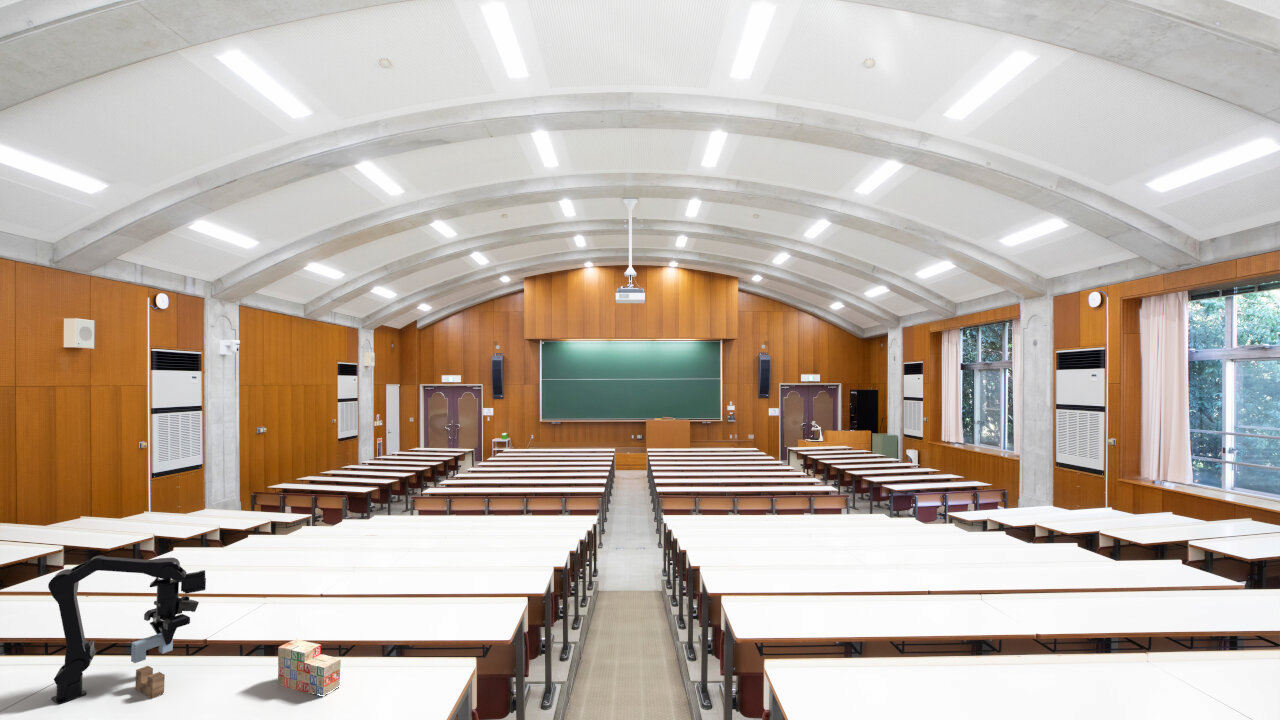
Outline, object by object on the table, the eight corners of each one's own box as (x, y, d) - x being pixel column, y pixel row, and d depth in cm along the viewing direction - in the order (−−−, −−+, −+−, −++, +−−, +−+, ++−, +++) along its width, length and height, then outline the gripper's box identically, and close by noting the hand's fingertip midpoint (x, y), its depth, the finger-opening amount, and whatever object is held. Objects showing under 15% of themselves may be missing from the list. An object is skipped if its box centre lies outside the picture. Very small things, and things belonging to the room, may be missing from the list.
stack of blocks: (340, 688, 177) (341, 649, 178) (322, 698, 171) (323, 658, 172) (295, 675, 185) (296, 638, 186) (277, 684, 180) (278, 646, 180)
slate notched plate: (135, 663, 178) (135, 644, 178) (131, 661, 180) (131, 642, 180) (172, 650, 187) (173, 632, 187) (168, 648, 188) (169, 630, 189)
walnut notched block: (135, 688, 177) (136, 669, 177) (147, 684, 180) (147, 665, 180) (152, 698, 171) (152, 679, 172) (163, 693, 174) (164, 674, 174)
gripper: (208, 593, 190) (207, 639, 189) (183, 584, 199) (181, 628, 198) (169, 605, 180) (167, 653, 179) (144, 594, 189) (142, 641, 188)
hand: (166, 643), depth 187 cm, fingers closed on slate notched plate, 3 cm apart
